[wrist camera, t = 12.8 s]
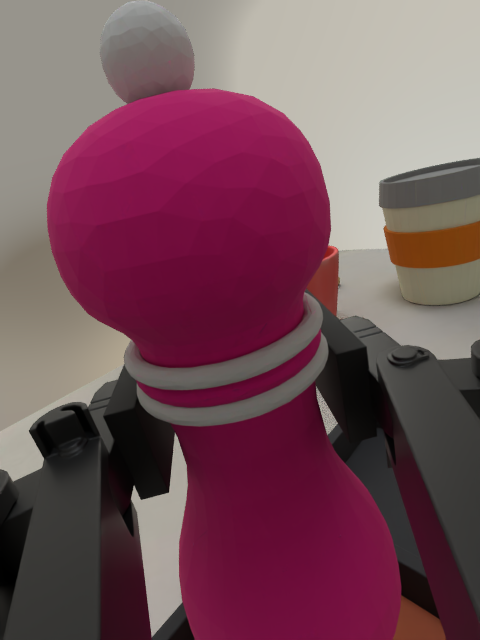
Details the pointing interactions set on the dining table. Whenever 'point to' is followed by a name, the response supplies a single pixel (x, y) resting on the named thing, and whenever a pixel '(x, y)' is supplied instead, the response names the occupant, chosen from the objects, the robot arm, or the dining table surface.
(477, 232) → the reusable coffee cup
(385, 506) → the tray
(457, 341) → the dining table surface
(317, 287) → the flower pot
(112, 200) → the pepper mill
